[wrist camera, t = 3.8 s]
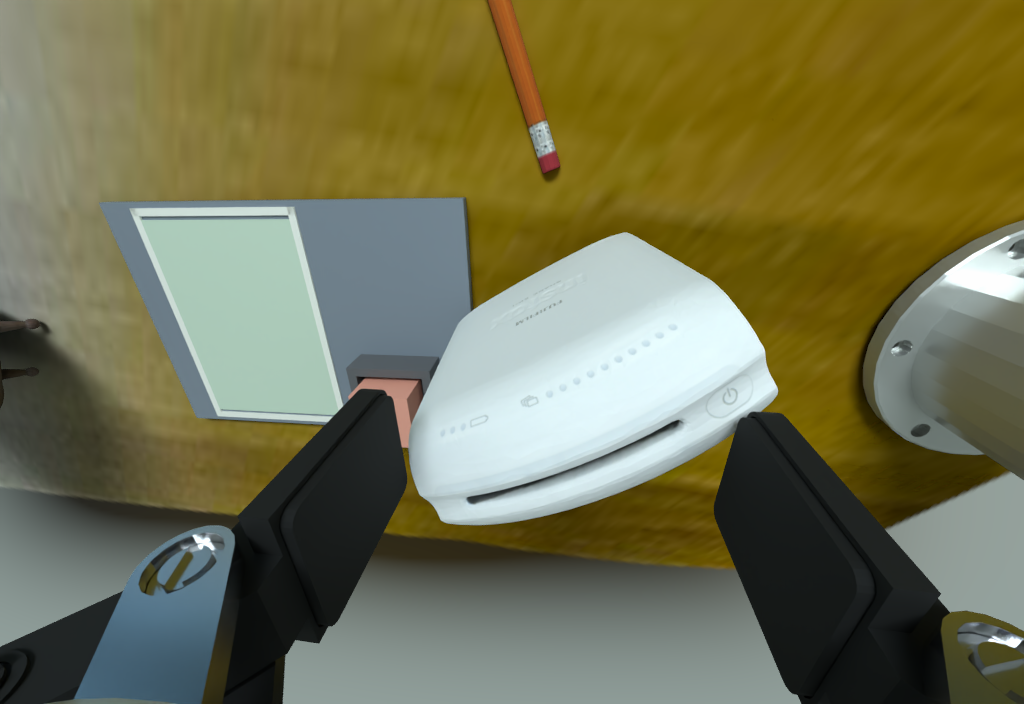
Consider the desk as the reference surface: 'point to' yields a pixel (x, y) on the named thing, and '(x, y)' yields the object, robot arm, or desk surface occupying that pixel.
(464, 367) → the photo printer
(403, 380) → the button
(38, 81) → the desk surface
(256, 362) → the activity board
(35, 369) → the alarm clock
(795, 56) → the desk surface
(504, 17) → the pencil
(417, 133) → the desk surface
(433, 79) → the desk surface
